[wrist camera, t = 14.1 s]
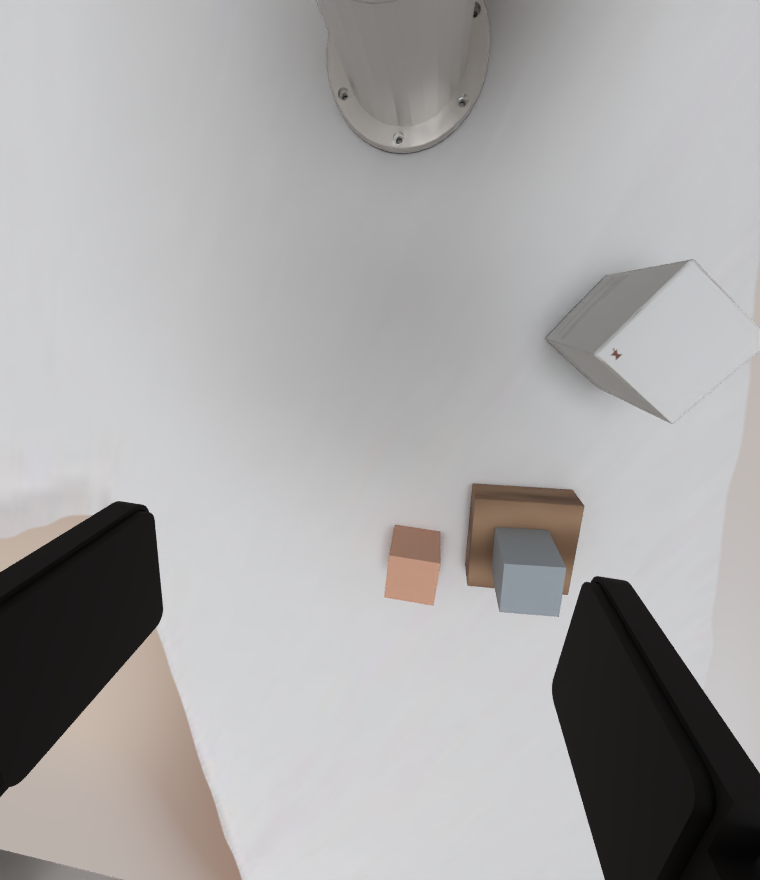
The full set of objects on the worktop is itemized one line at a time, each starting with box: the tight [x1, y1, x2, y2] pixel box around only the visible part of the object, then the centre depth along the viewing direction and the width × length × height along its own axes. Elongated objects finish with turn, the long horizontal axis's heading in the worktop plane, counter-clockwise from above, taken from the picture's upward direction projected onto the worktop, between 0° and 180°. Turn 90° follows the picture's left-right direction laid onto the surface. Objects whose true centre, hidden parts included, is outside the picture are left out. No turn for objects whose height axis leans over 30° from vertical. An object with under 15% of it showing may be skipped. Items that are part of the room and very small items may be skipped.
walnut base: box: [465, 484, 584, 595], centre depth 43 cm, size 10×10×4 cm
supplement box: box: [546, 259, 760, 424], centre depth 31 cm, size 7×7×13 cm
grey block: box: [491, 527, 566, 617], centre depth 38 cm, size 5×5×6 cm
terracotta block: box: [384, 525, 440, 605], centre depth 44 cm, size 5×5×6 cm
